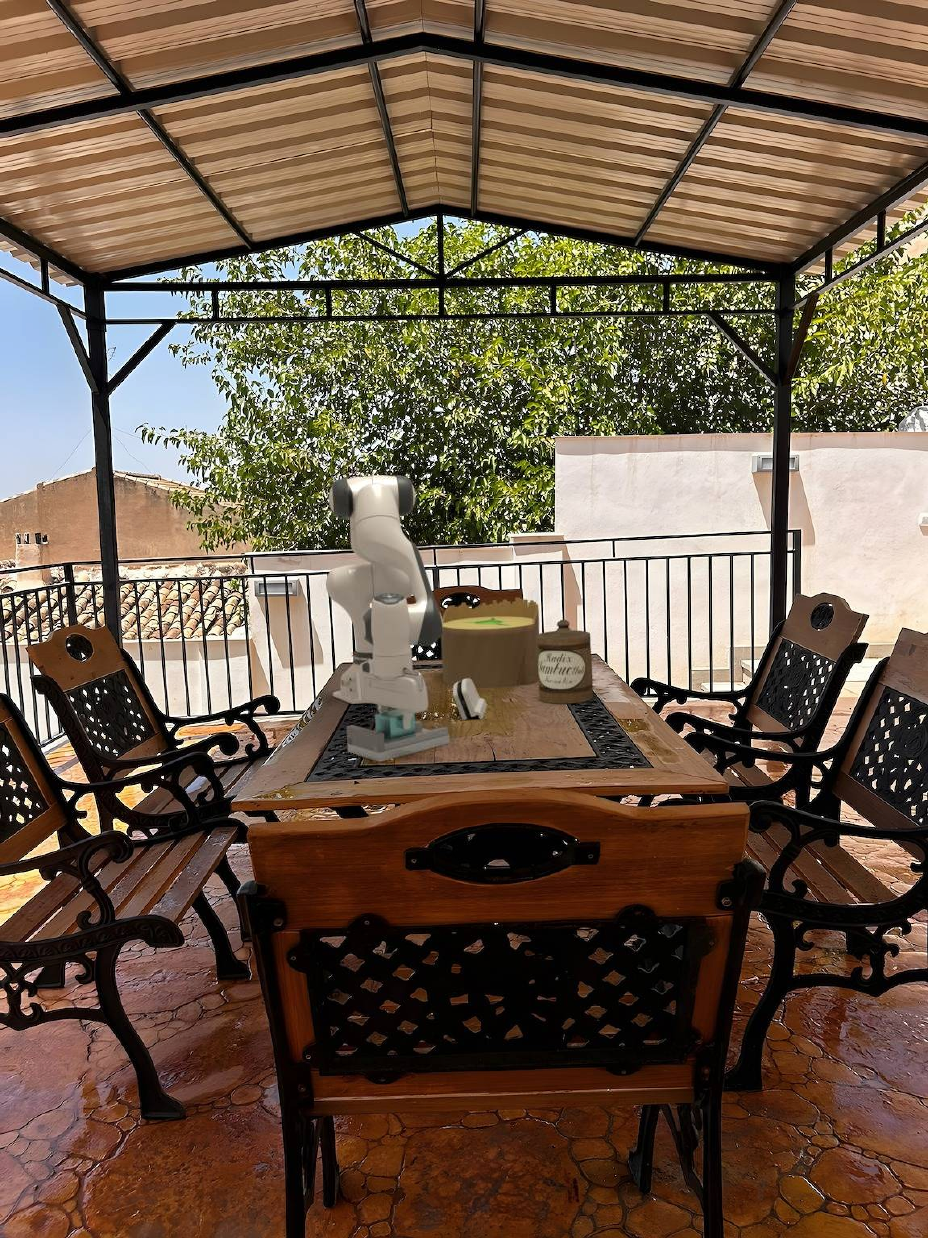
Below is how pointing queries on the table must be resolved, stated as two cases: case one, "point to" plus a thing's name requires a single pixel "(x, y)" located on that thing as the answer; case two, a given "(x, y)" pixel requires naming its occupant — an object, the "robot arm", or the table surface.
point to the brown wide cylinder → (491, 644)
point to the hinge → (468, 699)
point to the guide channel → (393, 742)
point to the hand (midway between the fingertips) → (396, 726)
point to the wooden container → (565, 665)
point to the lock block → (393, 724)
